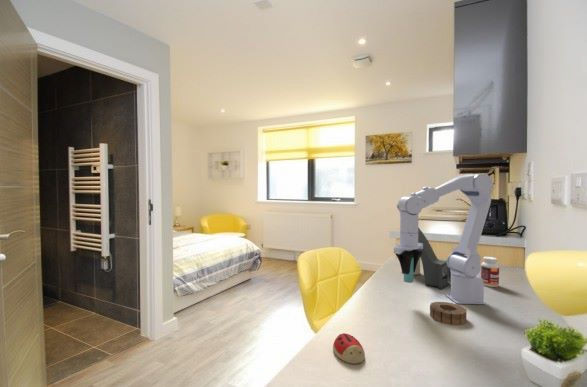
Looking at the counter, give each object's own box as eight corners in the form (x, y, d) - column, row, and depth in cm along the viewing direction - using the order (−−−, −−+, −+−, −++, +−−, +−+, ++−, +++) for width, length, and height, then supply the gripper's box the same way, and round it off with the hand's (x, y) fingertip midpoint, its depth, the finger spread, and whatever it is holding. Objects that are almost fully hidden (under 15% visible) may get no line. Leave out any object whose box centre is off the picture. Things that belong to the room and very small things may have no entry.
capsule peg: (411, 280, 104) (411, 256, 104) (414, 282, 101) (414, 258, 101) (402, 279, 104) (402, 256, 104) (405, 282, 101) (405, 258, 101)
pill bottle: (492, 288, 119) (492, 260, 119) (477, 283, 125) (477, 256, 124) (502, 286, 121) (503, 258, 121) (487, 282, 127) (487, 255, 127)
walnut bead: (456, 311, 96) (456, 302, 96) (473, 325, 86) (473, 314, 86) (425, 310, 96) (425, 301, 96) (438, 324, 86) (438, 313, 86)
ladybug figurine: (344, 368, 65) (344, 351, 65) (326, 345, 75) (326, 331, 75) (372, 363, 67) (372, 347, 67) (351, 341, 77) (351, 327, 77)
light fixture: (410, 275, 136) (410, 221, 135) (451, 284, 124) (452, 224, 123) (399, 280, 128) (399, 223, 128) (442, 290, 116) (443, 226, 116)
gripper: (410, 229, 110) (409, 266, 110) (385, 232, 101) (385, 273, 101) (429, 231, 104) (428, 271, 104) (405, 235, 95) (404, 278, 95)
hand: (408, 272), depth 102 cm, fingers closed on capsule peg, 3 cm apart
